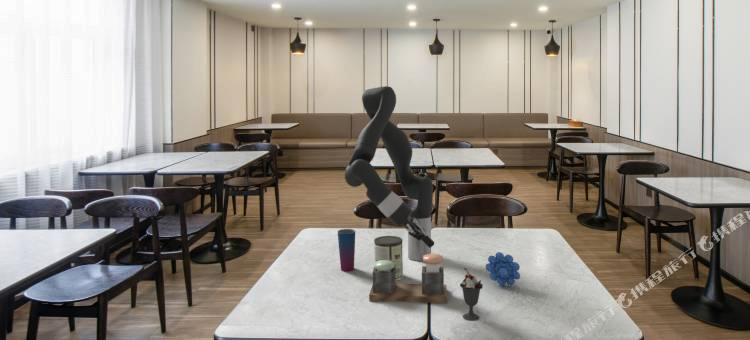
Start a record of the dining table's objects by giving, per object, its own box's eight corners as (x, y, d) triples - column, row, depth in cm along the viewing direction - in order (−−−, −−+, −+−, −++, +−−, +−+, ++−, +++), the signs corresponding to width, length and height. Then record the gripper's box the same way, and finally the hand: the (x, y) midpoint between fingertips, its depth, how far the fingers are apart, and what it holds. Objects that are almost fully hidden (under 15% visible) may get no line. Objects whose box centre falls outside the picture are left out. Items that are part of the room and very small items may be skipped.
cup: (353, 272, 197) (352, 233, 195) (336, 271, 198) (335, 233, 196) (358, 266, 203) (357, 229, 201) (341, 265, 205) (340, 228, 203)
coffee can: (381, 270, 199) (381, 234, 197) (407, 274, 194) (406, 237, 192) (370, 279, 190) (369, 241, 187) (396, 283, 185) (395, 244, 183)
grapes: (485, 289, 178) (486, 255, 176) (485, 282, 185) (485, 249, 183) (521, 291, 176) (522, 256, 174) (519, 283, 183) (520, 250, 181)
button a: (373, 288, 172) (373, 266, 171) (376, 281, 178) (375, 259, 177) (393, 288, 171) (393, 266, 170) (394, 281, 177) (394, 260, 176)
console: (369, 300, 170) (368, 274, 169) (373, 288, 181) (372, 263, 180) (446, 303, 167) (446, 276, 166) (446, 290, 178) (446, 264, 177)
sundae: (457, 313, 160) (457, 265, 158) (478, 311, 160) (479, 264, 158) (462, 322, 153) (462, 273, 151) (485, 321, 154) (485, 272, 152)
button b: (422, 281, 170) (422, 259, 168) (423, 275, 176) (423, 253, 175) (442, 282, 169) (442, 260, 168) (442, 275, 175) (442, 253, 174)
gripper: (401, 204, 163) (440, 243, 163) (403, 196, 176) (440, 232, 176) (384, 221, 165) (423, 259, 165) (388, 211, 177) (424, 247, 178)
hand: (432, 245), depth 171 cm, fingers closed
